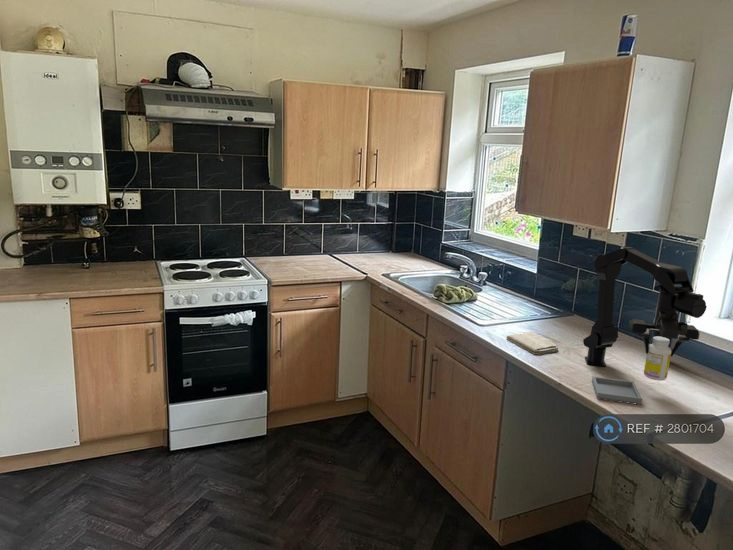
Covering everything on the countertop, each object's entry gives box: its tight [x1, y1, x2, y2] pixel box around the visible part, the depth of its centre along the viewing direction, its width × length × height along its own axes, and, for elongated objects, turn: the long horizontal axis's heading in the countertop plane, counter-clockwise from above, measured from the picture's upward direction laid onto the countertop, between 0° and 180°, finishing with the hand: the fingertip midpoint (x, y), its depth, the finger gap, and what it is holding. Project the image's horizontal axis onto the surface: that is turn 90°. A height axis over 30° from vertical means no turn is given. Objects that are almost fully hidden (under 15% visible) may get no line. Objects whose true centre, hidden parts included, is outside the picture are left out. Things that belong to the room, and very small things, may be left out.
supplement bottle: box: [643, 336, 672, 381], centre depth 172 cm, size 7×7×13 cm
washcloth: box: [505, 331, 559, 355], centre depth 211 cm, size 12×18×3 cm, turn 25°
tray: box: [591, 375, 643, 405], centre depth 173 cm, size 13×13×2 cm
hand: (658, 354), depth 171 cm, fingers closed on supplement bottle, 7 cm apart
